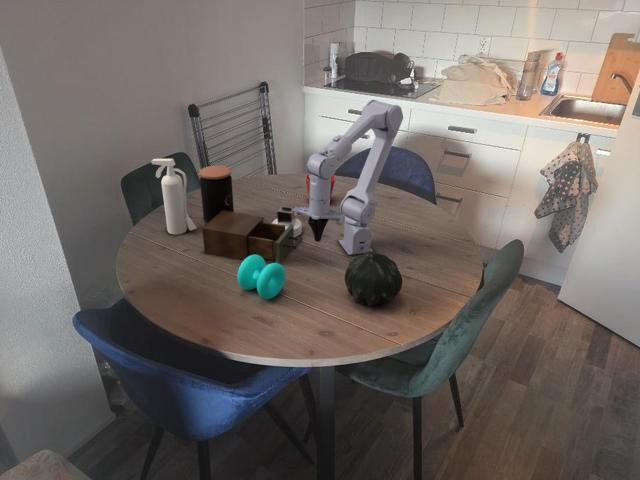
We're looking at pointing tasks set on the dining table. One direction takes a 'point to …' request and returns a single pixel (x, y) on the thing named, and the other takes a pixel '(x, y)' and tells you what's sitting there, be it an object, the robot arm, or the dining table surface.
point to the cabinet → (229, 234)
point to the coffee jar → (216, 191)
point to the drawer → (272, 241)
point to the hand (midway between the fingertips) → (318, 240)
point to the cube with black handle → (286, 216)
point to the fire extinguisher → (174, 197)
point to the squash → (373, 278)
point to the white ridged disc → (296, 227)
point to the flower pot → (309, 185)
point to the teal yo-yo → (261, 276)
